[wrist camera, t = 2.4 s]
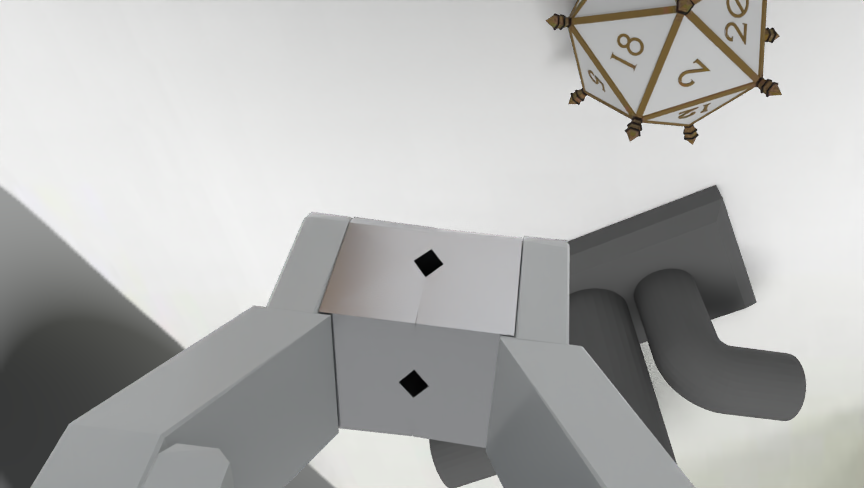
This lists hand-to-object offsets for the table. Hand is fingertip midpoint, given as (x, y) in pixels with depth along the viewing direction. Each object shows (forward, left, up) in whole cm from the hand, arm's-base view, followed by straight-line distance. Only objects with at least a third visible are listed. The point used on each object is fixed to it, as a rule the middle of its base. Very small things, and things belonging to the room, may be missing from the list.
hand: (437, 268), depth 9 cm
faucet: (+6, +30, -25) cm, 39 cm away
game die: (-4, +11, -25) cm, 27 cm away
